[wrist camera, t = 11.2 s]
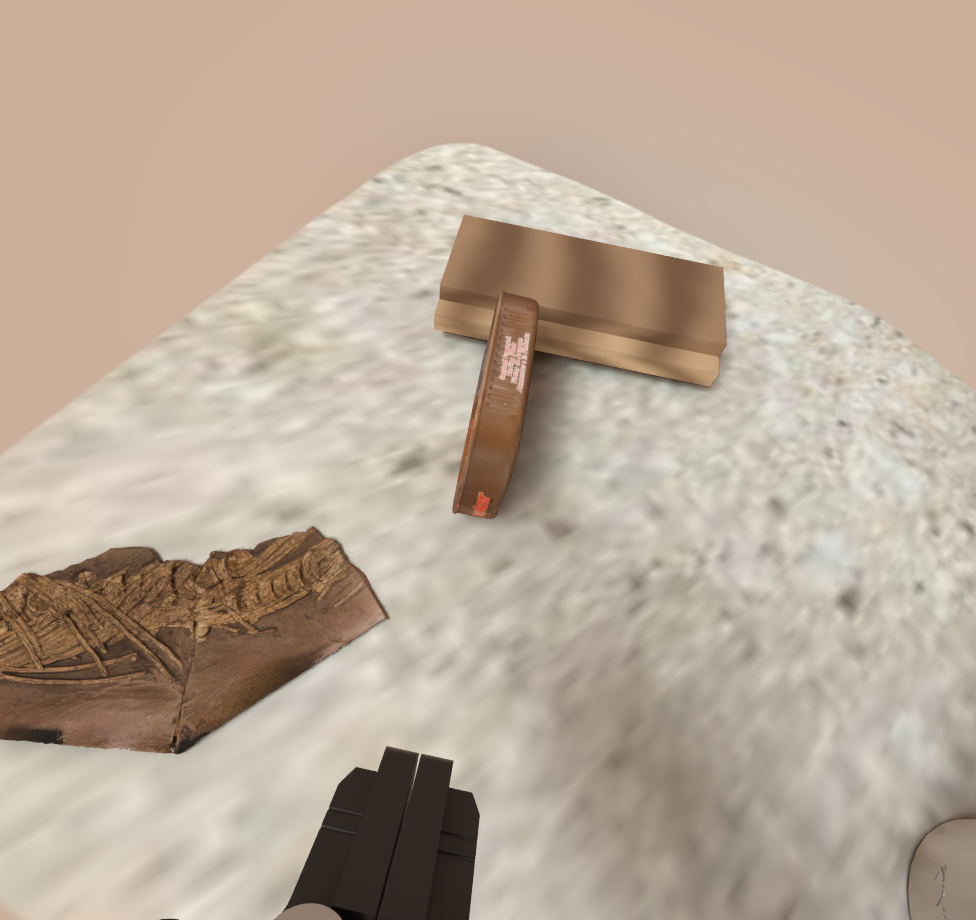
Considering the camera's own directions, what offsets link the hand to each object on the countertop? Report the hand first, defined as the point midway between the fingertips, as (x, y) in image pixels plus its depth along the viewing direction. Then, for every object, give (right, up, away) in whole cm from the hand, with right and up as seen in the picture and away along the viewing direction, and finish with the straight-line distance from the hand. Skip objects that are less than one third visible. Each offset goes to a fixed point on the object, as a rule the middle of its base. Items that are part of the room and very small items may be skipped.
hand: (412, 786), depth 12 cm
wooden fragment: (-17, -3, +18) cm, 24 cm away
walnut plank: (+8, +18, +32) cm, 38 cm away
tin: (+2, +8, +26) cm, 27 cm away
